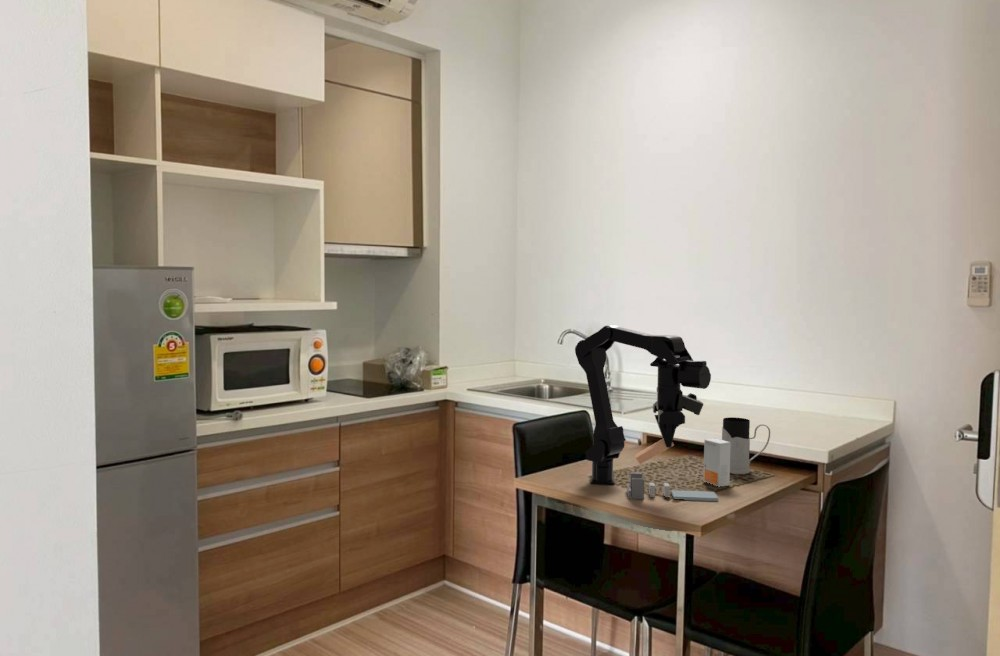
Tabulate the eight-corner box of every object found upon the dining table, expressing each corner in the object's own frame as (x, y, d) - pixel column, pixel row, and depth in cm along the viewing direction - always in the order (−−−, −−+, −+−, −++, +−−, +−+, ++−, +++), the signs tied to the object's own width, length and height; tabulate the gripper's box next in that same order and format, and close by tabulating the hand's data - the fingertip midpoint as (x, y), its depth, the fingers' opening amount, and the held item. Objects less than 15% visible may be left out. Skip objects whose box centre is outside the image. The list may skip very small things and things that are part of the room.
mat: (671, 493, 203) (671, 490, 203) (714, 494, 202) (714, 491, 202) (673, 499, 197) (673, 496, 197) (718, 501, 196) (718, 498, 196)
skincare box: (702, 482, 215) (703, 439, 214) (713, 480, 217) (715, 437, 216) (718, 487, 209) (719, 443, 209) (730, 485, 212) (731, 441, 211)
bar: (638, 461, 202) (634, 454, 202) (672, 442, 201) (668, 435, 201) (639, 464, 198) (635, 457, 198) (674, 445, 197) (670, 438, 197)
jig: (627, 490, 205) (627, 472, 204) (667, 492, 204) (667, 473, 203) (628, 498, 198) (629, 479, 197) (670, 500, 197) (670, 480, 196)
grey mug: (716, 466, 234) (717, 416, 233) (764, 467, 233) (766, 417, 232) (723, 473, 225) (724, 422, 224) (773, 474, 224) (774, 423, 223)
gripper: (706, 390, 188) (705, 454, 189) (696, 381, 207) (694, 439, 208) (660, 389, 190) (658, 453, 190) (653, 380, 208) (652, 438, 209)
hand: (667, 445), depth 199 cm, fingers closed on bar, 4 cm apart
